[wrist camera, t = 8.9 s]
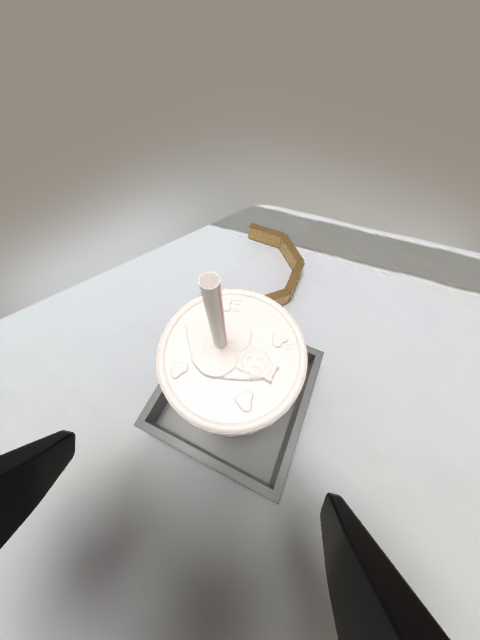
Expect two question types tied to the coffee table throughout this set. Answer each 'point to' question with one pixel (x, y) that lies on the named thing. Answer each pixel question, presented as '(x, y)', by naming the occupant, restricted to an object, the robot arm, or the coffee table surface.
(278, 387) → the smoothie
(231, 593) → the coffee table surface
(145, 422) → the tray
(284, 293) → the collar
